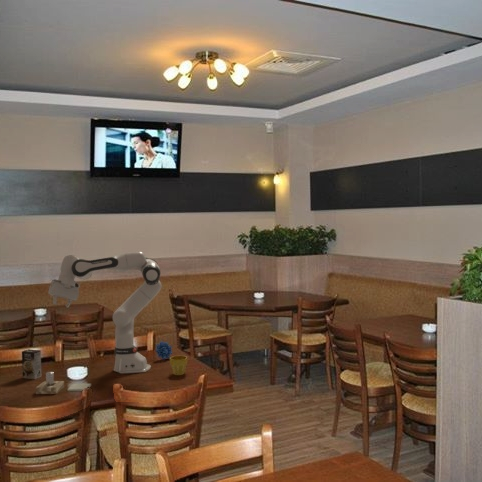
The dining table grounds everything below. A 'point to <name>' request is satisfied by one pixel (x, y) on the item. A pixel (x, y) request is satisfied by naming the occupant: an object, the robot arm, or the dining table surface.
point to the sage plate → (78, 387)
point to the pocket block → (50, 388)
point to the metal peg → (49, 378)
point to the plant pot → (178, 364)
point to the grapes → (163, 350)
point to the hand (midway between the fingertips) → (61, 305)
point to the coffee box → (31, 364)
